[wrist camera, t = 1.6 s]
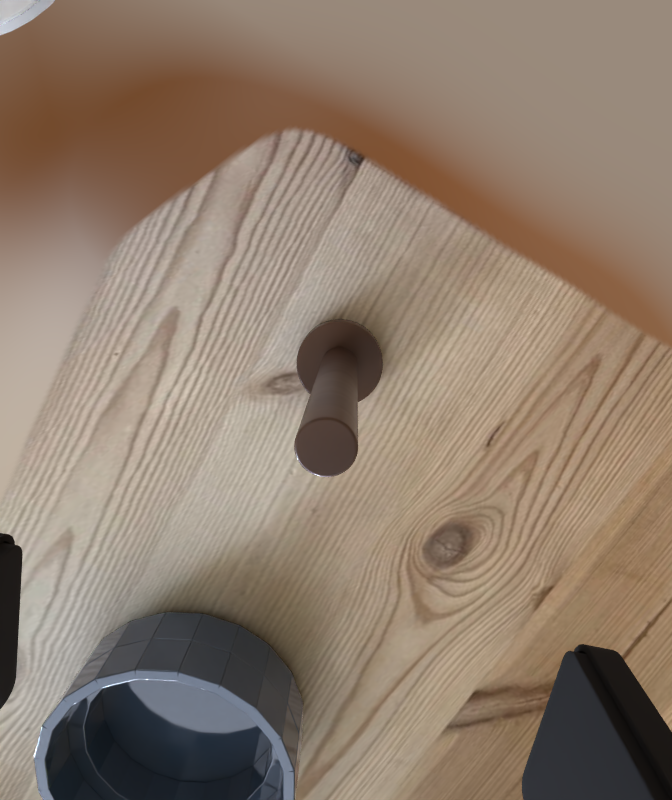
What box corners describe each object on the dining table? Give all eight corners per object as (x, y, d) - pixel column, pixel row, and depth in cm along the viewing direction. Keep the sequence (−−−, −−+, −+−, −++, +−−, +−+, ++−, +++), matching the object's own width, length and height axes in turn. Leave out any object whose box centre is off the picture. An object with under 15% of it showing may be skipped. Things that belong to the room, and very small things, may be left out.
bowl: (37, 674, 38) (-20, 748, 32) (212, 564, 36) (184, 623, 30) (176, 821, 41) (147, 914, 35) (347, 729, 38) (346, 813, 33)
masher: (282, 350, 32) (218, 428, 17) (351, 302, 31) (345, 342, 16) (329, 416, 33) (307, 544, 18) (397, 371, 32) (432, 467, 17)
